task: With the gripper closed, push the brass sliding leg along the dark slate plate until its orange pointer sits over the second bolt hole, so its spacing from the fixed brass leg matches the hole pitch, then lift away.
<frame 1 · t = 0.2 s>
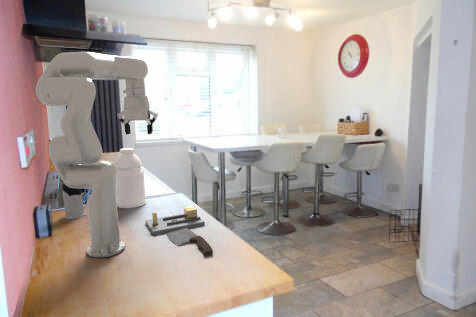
hand: (139, 134, 147), 37 cm above the counter, tool pointing down, fingers open, 9 cm apart
cleaver: (188, 243, 127), on the counter
bottle: (131, 204, 173), on the counter
bolt plate: (174, 224, 145), on the counter
sliding leg: (190, 212, 147), point 4 cm above the counter, slide at 0.0 cm
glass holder: (81, 214, 161), on the counter
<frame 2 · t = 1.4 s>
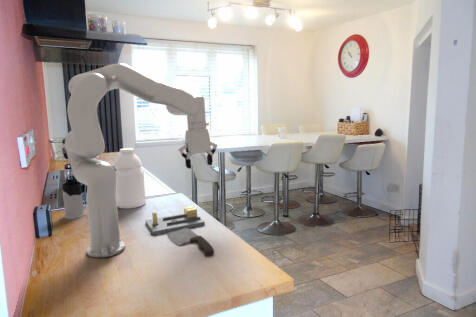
hand: (199, 166, 148), 23 cm above the counter, tool pointing down, fingers open, 9 cm apart
nothing on the counter moved.
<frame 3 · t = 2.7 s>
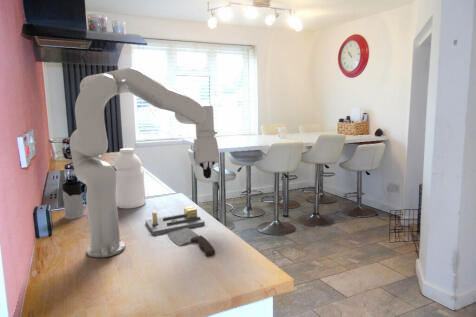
hand: (207, 177, 148), 18 cm above the counter, tool pointing down, fingers closed
cleaver: (190, 243, 127), on the counter, touching bolt plate
everything else where it was.
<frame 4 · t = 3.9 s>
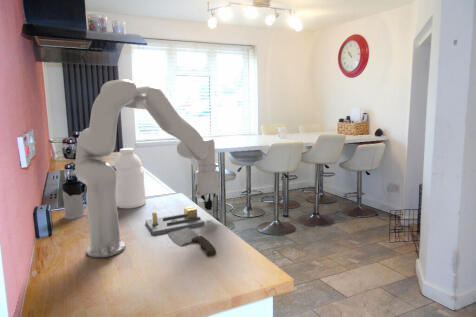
hand: (208, 209, 150), 4 cm above the counter, tool pointing down, fingers closed
cleaver: (191, 243, 127), on the counter
everything else where it was.
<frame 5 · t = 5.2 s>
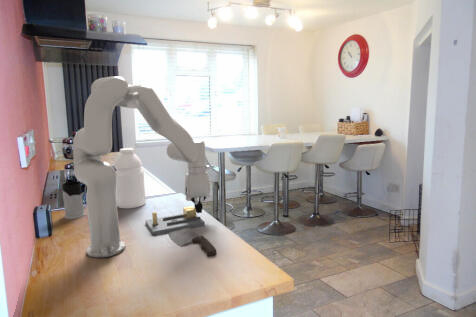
hand: (198, 212, 149), 3 cm above the counter, tool pointing down, fingers closed
sliding leg: (189, 212, 147), point 4 cm above the counter, slide at 0.4 cm, touching gripper
everything else where it was.
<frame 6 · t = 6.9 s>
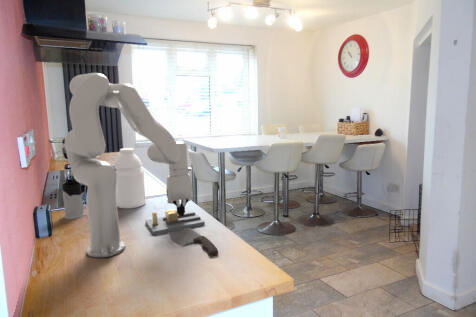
hand: (181, 215, 145), 4 cm above the counter, tool pointing down, fingers closed
sliding leg: (171, 216, 143), point 4 cm above the counter, slide at 8.1 cm, touching gripper
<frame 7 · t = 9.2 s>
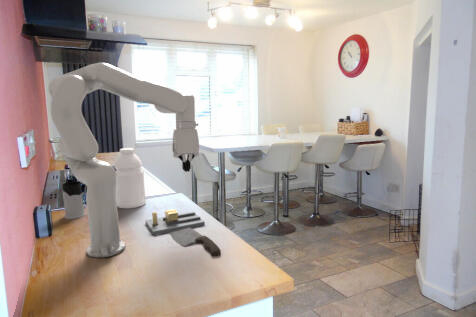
hand: (186, 171, 142), 22 cm above the counter, tool pointing down, fingers closed
sliding leg: (171, 216, 143), point 4 cm above the counter, slide at 8.1 cm
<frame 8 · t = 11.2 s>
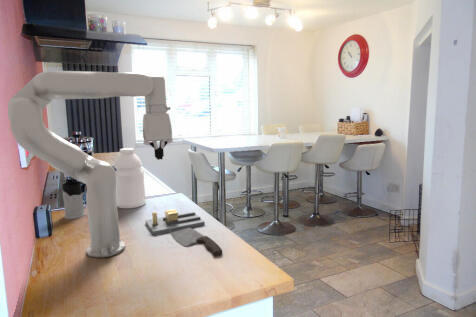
hand: (159, 158, 132), 29 cm above the counter, tool pointing down, fingers closed
at the end: sliding leg slide at 8.1 cm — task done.
